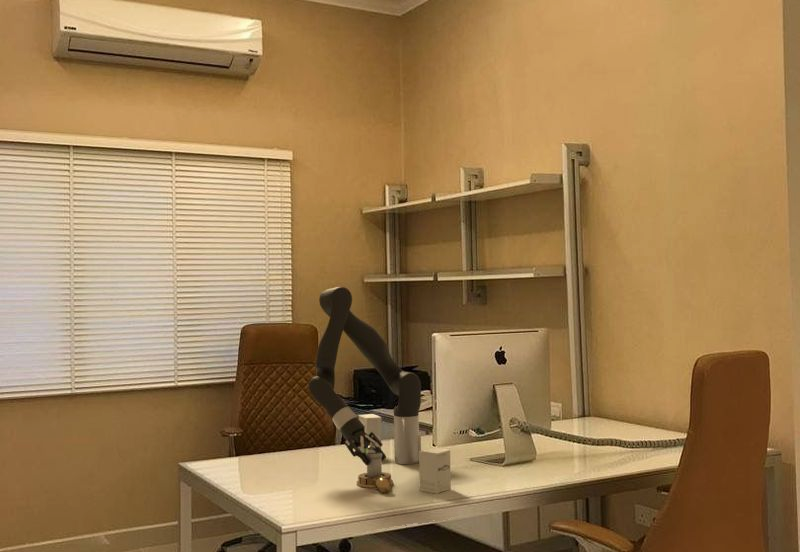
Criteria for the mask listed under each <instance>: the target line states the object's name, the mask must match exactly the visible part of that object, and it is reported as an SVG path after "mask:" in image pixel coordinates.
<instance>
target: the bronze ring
mask: <svg viewBox="0 0 800 552" xmlns="http://www.w3.org/2000/svg"><path fill="white" fill-rule="evenodd" d="M393 484H394V480H393V479H392V474H391V473H389V472H385V471H384V472H382V475H375V476H374V477H373V478H369V477H367V472H363V473H360V474H359V475H358V476H357V481H356V486H357V487H359V488H364V489H377V490H378V491H380V492H381V494H383V495H387V494H390V493H391V492H392V491H393Z"/></svg>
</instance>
